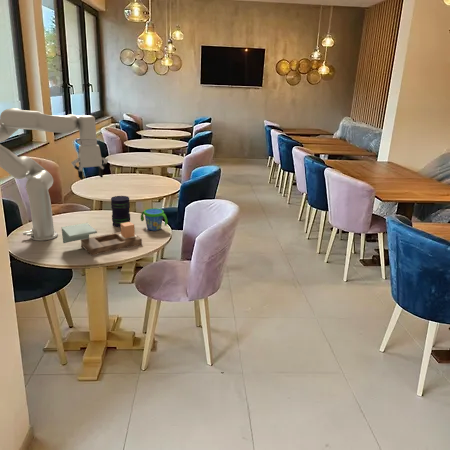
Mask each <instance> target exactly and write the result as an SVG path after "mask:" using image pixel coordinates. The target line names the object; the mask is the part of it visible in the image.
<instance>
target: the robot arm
mask: <svg viewBox="0 0 450 450" xmlns="http://www.w3.org/2000/svg"><path fill="white" fill-rule="evenodd" d="M18 130H31V131H32V130H33V131H39V132H48V133H55V134H57V133H59V134H60V133H61V134H69V133H70V134H71V133H72V132H75V131H78V133H79V140H77V141H76V143H77V144H79V145H78V153H77V154H78V157H77V158H75V159H74V160H73V161H71V165H72V166H73V168H74V169H75V170H76V171H77V174H78V175H77V176H78V178H79V179H80V180H83V179H84V176H83V175H84V174H83V171H82V170H83V169H84V168H95V167H98V177H100V178H103V176H104V169H105V167H106V166H107V163H108V161H109V160H108V158H105V157H102V153H101V148H100V144H98V141H97V140H98V139H97V126H96V118H95V116H93V115H89V114H88V115H87V114H85V115H84V114H82V115H78V114H77V115H76V114H72V113H70V114H69V113H68V114H67V115H50V114H46V113H43V112H41V111H39V110H26V109H25V110H24V109H21V108H16V107H11V108H7V109H5V110H3V111H2V112H1V113H0V143H3V142H4V141H6V140H8V139H9V138H10V137H11V136H13V134H15V133H16V132H17V131H18ZM77 164H78V165H79V166H78V165H77ZM0 168H1V169H2V170H4V171H5V172H6V173H7V174H9V175H10V176H11V177H13V178H14V179H17V180H23V179H27V180H26V182H25V189H26V190H25V191H26V194H27V197H28V198H27V199H28V201H29V209H30V216H31V223H32V225H31V226H32V227H31V229H30V230H26V231H22V236H27V237H30V239H31V240H33V241H36V242H37V241H38V242H39V241H41V242H42V241H49V240H53V239H55V238H56V237H58V231H56V230H55V227H54V218H53V217H54V216H53V210H52V203H51V197H50V193H49V189H51V187H52V186H53V185H54V177H53V176H52V174H51V173H50V172H49V171H48V170H47V169H45V168H44V167H43V166H42V165H41V164H39V163H38V162H37V161H36V160H34V159H33V158H32V157H30V156H26V155H22V156H21V155H20V156H18V155H16V154H15V153H14V152H12V151H11V149H9V148H7V147H5V146H3V145H2V144H0Z"/></svg>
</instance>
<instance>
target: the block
mask: <svg viewBox="0 0 450 450" xmlns="http://www.w3.org/2000/svg"><path fill="white" fill-rule="evenodd" d="M120 232H121V235H122V236H123V237H125V238H128V237H133V236H135V234H136V233H135V224H134V223H133V222H131V221H130V222H126V223H121V227H120Z"/></svg>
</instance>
